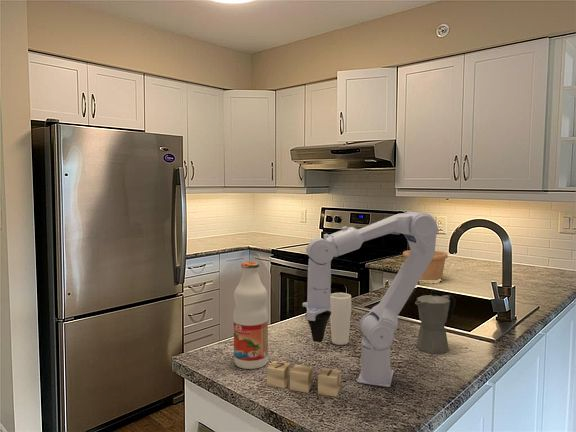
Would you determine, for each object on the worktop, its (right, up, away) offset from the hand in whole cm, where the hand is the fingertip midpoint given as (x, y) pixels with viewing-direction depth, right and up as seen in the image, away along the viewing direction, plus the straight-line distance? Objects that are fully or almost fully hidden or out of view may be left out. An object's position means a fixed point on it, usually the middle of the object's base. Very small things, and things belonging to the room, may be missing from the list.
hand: (317, 340), depth 108 cm
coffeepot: (+37, -9, +23) cm, 44 cm away
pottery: (+63, -2, +115) cm, 130 cm away
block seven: (-10, -11, 0) cm, 14 cm away
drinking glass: (+9, -9, +27) cm, 30 cm away
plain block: (-4, -11, -2) cm, 12 cm away
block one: (+3, -11, -4) cm, 12 cm away
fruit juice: (-18, -10, +12) cm, 24 cm away
